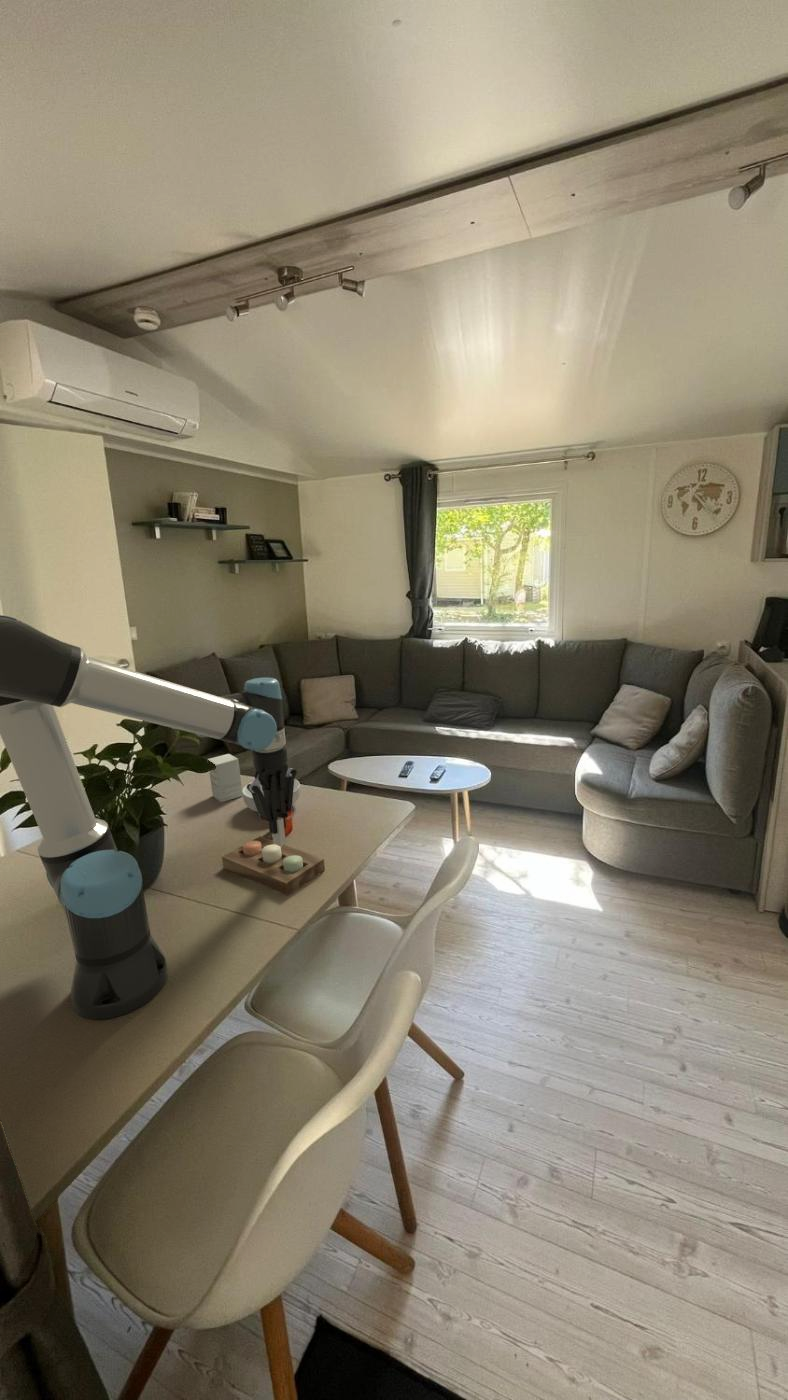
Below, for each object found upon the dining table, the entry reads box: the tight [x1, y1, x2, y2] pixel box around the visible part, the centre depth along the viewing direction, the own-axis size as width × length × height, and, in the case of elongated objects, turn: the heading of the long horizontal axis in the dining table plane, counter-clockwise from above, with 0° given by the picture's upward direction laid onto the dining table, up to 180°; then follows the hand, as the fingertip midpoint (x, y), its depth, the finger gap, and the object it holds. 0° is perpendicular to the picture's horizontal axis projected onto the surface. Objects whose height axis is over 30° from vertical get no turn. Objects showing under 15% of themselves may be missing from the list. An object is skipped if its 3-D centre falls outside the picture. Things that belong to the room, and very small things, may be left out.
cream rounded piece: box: [262, 844, 282, 865], centre depth 133 cm, size 4×4×4 cm
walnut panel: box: [221, 836, 326, 896], centre depth 134 cm, size 12×22×3 cm, turn 54°
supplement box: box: [207, 753, 243, 803], centre depth 177 cm, size 7×7×13 cm
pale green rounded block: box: [283, 855, 303, 874], centre depth 129 cm, size 4×4×4 cm
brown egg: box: [242, 840, 262, 857], centre depth 137 cm, size 4×4×4 cm
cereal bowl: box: [242, 778, 301, 813], centre depth 167 cm, size 17×17×7 cm
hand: (279, 843), depth 131 cm, fingers closed
